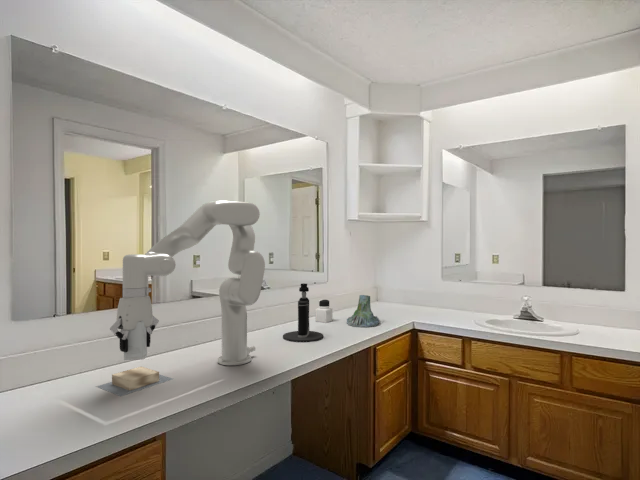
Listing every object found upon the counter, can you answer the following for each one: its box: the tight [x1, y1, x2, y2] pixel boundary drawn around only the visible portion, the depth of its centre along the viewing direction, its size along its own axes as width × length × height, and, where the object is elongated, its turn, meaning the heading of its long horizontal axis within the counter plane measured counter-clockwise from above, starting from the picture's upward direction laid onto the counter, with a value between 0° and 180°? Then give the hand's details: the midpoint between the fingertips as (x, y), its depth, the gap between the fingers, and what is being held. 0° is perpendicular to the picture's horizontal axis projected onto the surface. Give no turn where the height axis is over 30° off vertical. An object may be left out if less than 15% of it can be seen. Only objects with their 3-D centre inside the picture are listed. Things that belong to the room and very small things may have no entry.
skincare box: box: [123, 321, 148, 361], centre depth 132 cm, size 6×4×12 cm
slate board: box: [95, 373, 174, 397], centre depth 132 cm, size 18×14×1 cm
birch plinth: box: [111, 366, 160, 390], centre depth 132 cm, size 10×10×3 cm
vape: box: [282, 283, 324, 343], centre depth 195 cm, size 19×19×25 cm
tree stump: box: [346, 294, 380, 329], centre depth 227 cm, size 18×20×18 cm
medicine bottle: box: [315, 299, 333, 324], centre depth 233 cm, size 7×7×12 cm
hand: (135, 348), depth 131 cm, fingers closed on skincare box, 6 cm apart
